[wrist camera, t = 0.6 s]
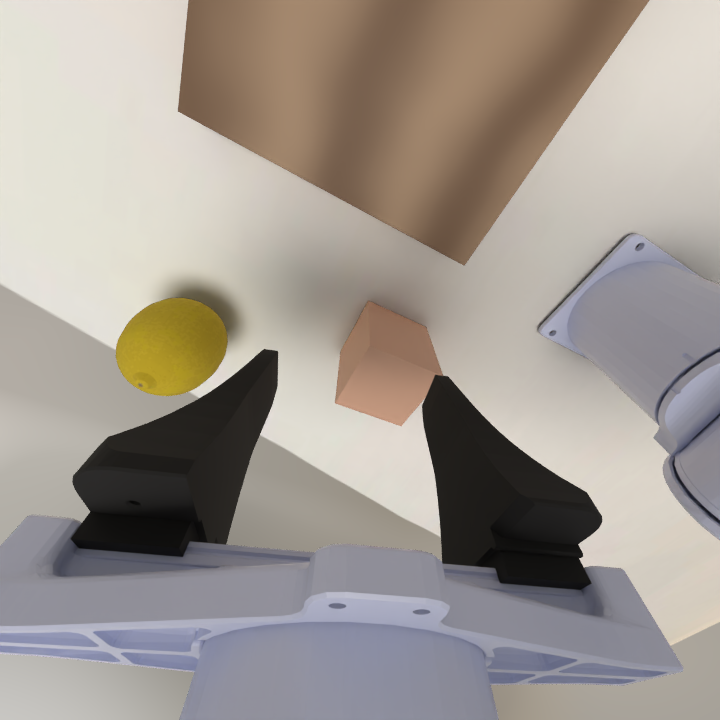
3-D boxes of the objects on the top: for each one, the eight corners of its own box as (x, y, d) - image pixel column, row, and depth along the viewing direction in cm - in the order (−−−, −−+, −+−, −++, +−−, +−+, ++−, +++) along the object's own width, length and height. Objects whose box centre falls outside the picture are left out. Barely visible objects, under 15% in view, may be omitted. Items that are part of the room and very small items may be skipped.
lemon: (182, 264, 20) (97, 321, 14) (255, 312, 22) (211, 381, 16) (154, 319, 23) (71, 389, 16) (222, 357, 25) (173, 434, 18)
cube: (426, 326, 23) (443, 376, 18) (393, 372, 26) (401, 426, 21) (368, 300, 22) (369, 345, 17) (340, 351, 24) (335, 403, 19)
